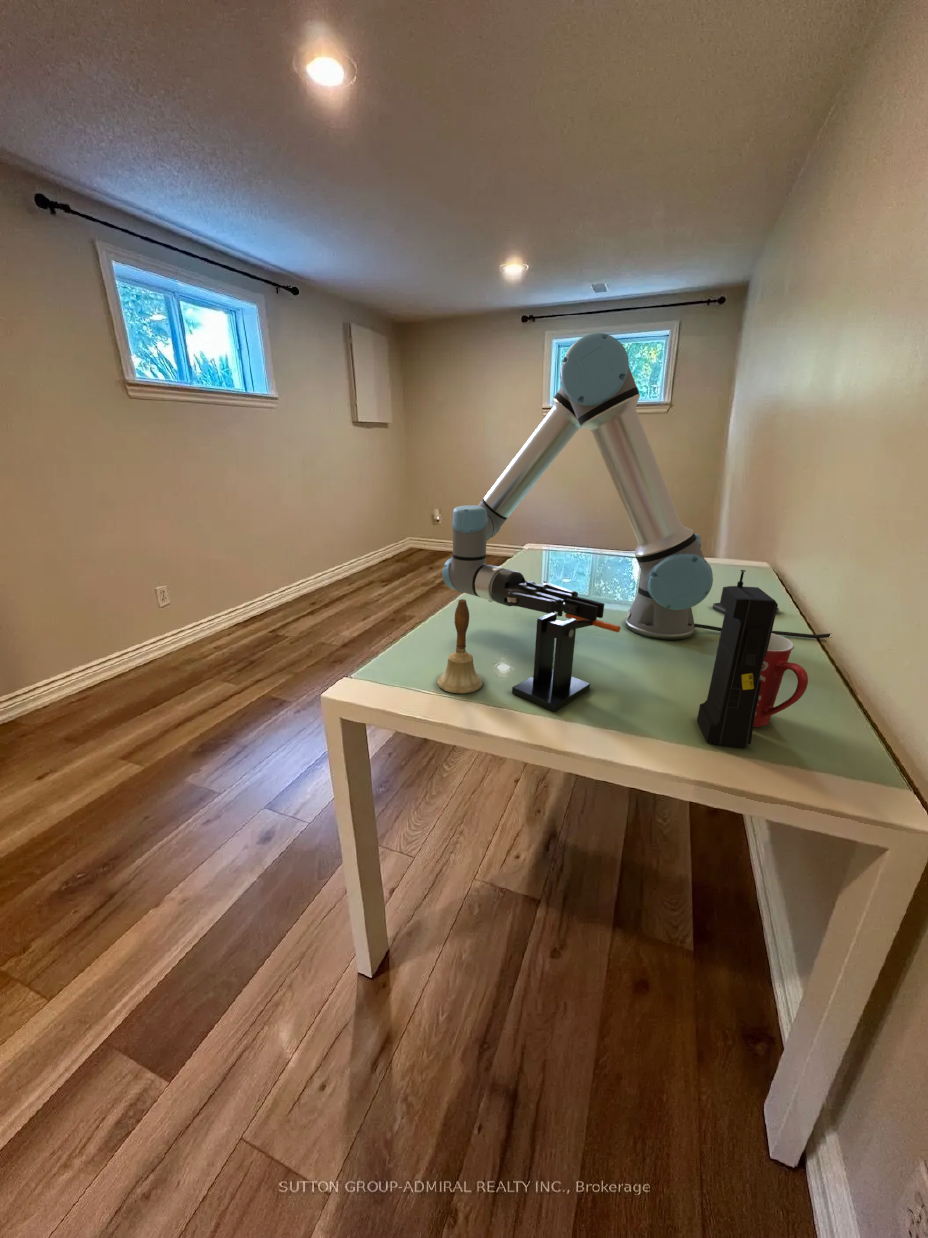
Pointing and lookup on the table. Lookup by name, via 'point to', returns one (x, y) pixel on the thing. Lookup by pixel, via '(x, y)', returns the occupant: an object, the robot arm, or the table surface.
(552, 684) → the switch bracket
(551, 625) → the switch lever
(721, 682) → the portable radio
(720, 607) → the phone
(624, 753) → the table surface
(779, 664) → the mug
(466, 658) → the hand bell
